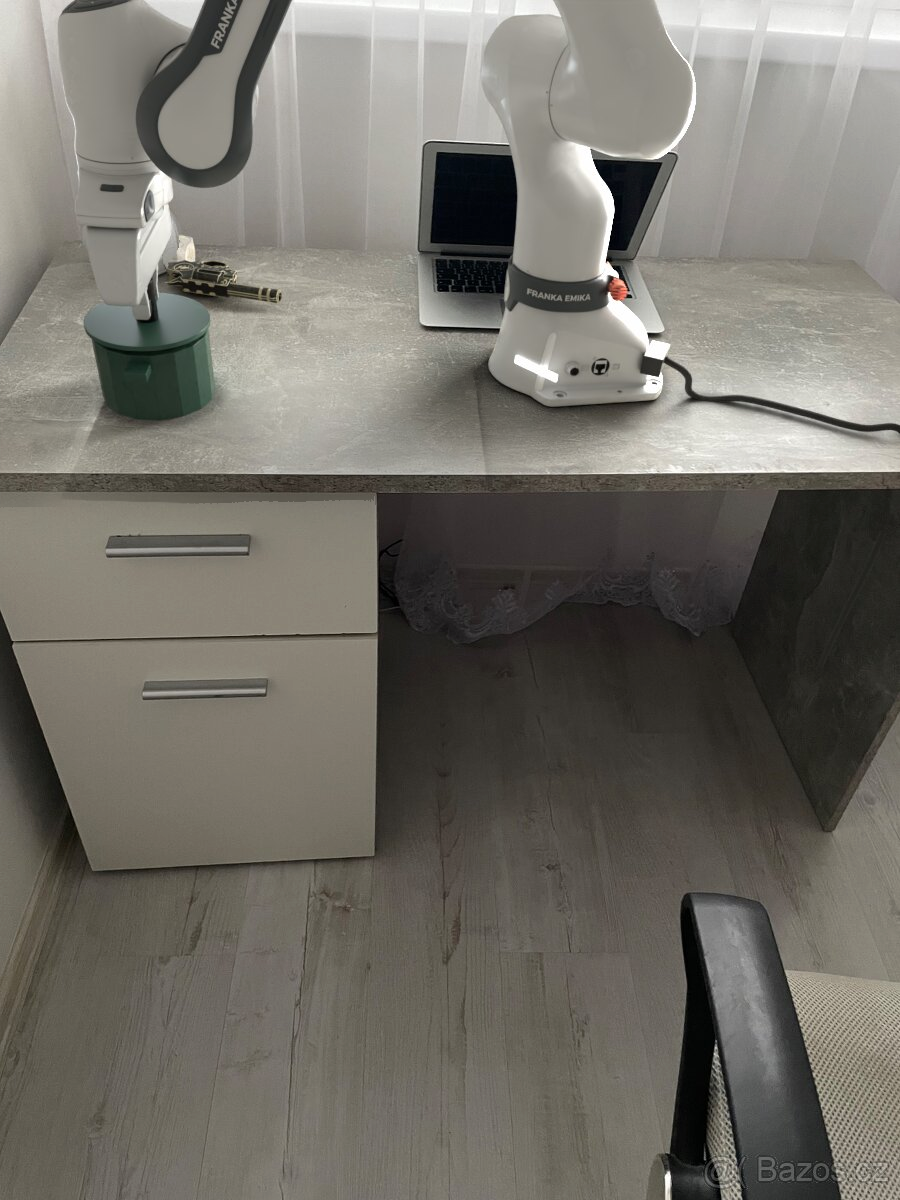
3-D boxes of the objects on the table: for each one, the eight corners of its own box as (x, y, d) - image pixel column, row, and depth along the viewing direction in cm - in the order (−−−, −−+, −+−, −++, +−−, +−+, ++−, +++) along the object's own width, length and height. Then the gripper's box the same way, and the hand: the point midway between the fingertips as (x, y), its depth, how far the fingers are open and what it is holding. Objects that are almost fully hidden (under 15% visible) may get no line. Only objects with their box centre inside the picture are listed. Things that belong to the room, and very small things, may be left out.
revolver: (305, 277, 140) (278, 314, 131) (173, 257, 142) (137, 292, 133) (303, 250, 137) (276, 286, 128) (169, 231, 139) (132, 265, 130)
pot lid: (218, 304, 112) (214, 257, 108) (201, 359, 102) (195, 309, 98) (101, 299, 111) (92, 251, 107) (71, 354, 101) (60, 303, 97)
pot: (224, 361, 119) (217, 297, 114) (202, 438, 106) (194, 370, 100) (122, 357, 118) (110, 292, 113) (87, 435, 105) (72, 365, 99)
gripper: (117, 146, 103) (136, 270, 112) (69, 214, 88) (96, 351, 97) (176, 149, 104) (190, 272, 113) (138, 217, 89) (158, 353, 98)
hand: (146, 309), depth 105 cm, fingers closed on pot lid, 2 cm apart
